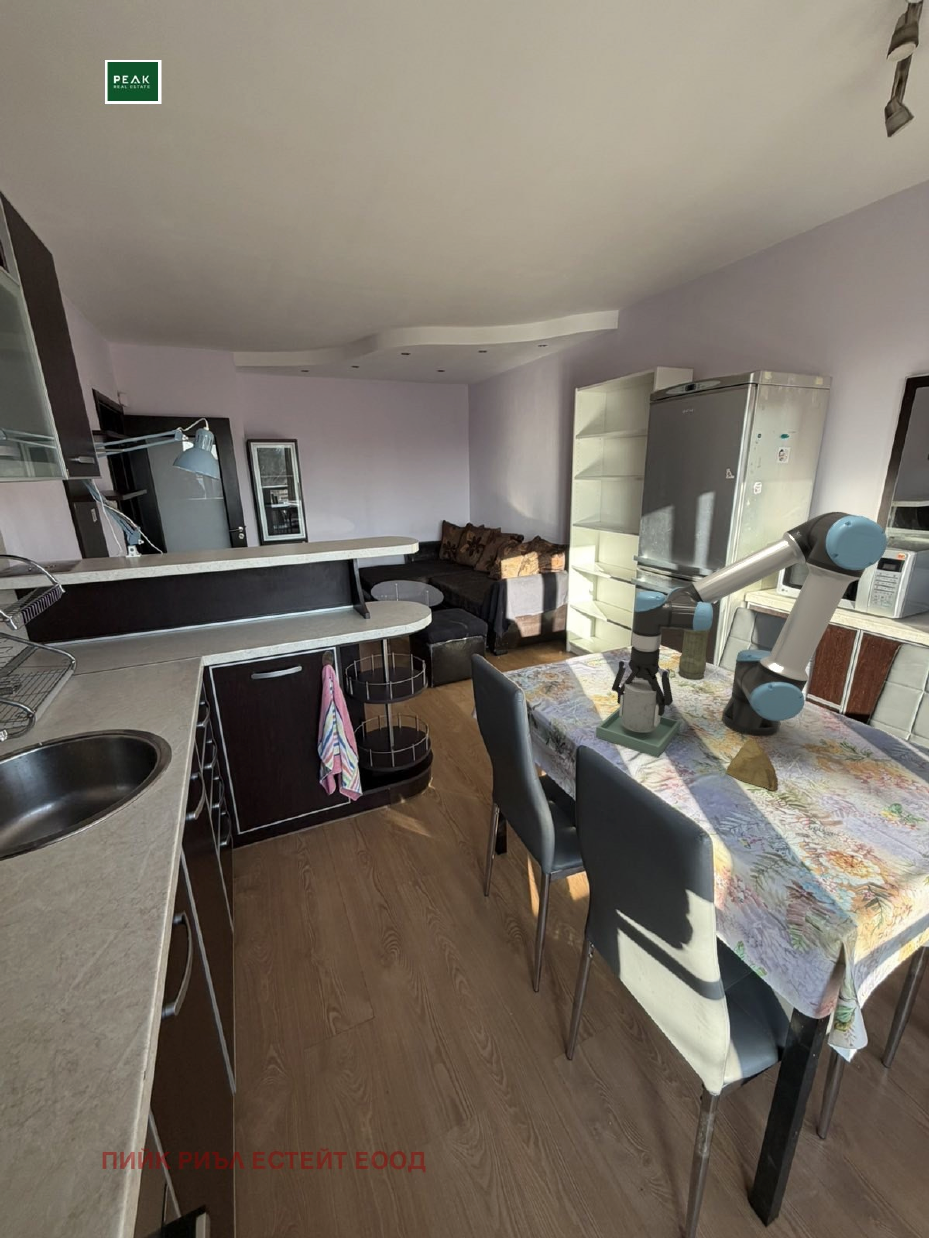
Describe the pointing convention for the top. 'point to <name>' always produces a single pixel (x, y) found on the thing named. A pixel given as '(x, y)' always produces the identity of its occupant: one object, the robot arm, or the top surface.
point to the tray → (639, 734)
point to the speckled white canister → (639, 706)
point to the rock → (753, 766)
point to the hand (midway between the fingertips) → (639, 719)
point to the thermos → (693, 654)
